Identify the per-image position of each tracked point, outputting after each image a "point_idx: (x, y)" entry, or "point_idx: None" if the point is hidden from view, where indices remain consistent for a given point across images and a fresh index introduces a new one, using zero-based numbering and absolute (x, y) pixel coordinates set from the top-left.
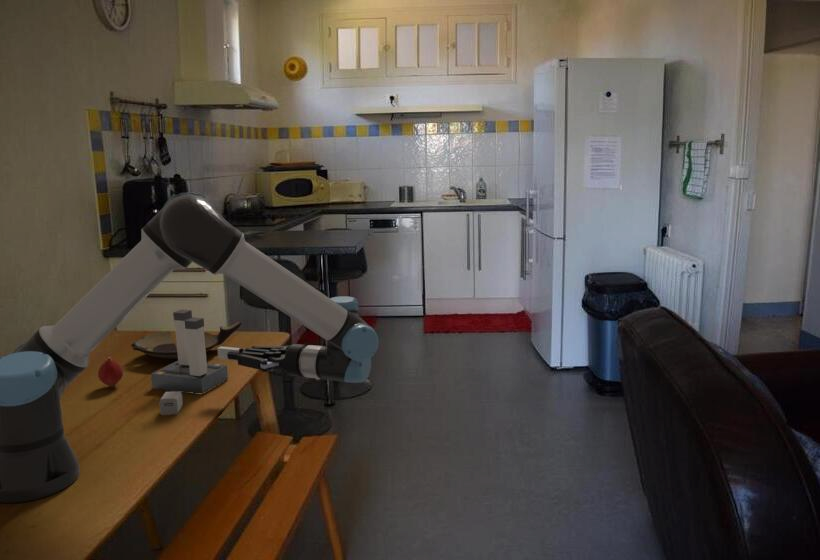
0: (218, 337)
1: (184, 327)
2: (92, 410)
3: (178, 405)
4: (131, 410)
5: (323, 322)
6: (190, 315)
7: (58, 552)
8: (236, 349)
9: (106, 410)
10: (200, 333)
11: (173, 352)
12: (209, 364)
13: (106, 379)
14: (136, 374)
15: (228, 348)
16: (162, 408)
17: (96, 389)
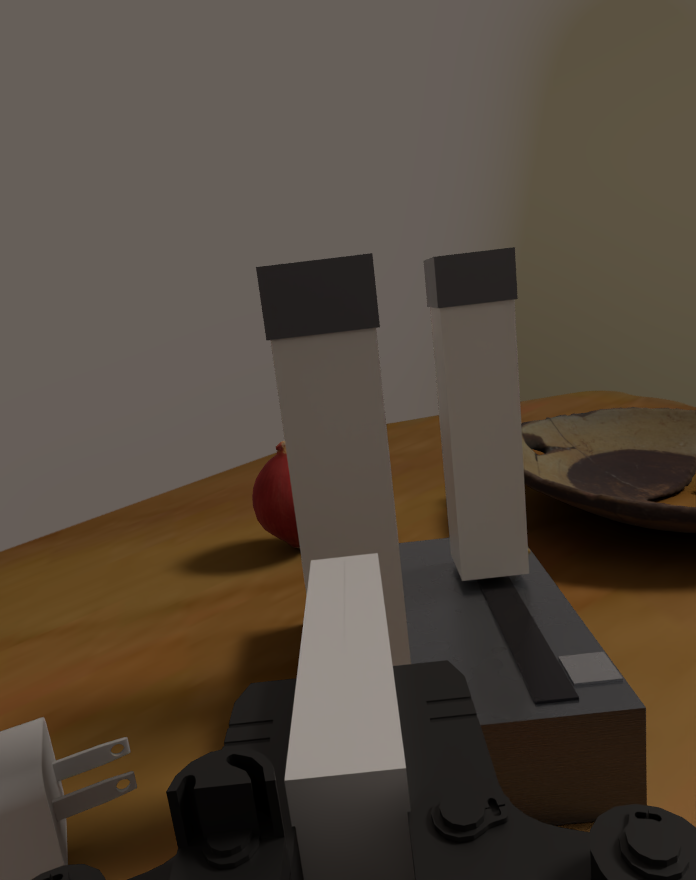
0: None
1: (443, 352)
2: (74, 614)
3: None
4: (51, 699)
5: None
6: (502, 281)
7: None
8: (314, 708)
9: (67, 640)
10: (329, 385)
11: (560, 487)
12: (566, 630)
13: (256, 516)
14: (431, 529)
15: (328, 623)
16: None
17: (269, 537)
